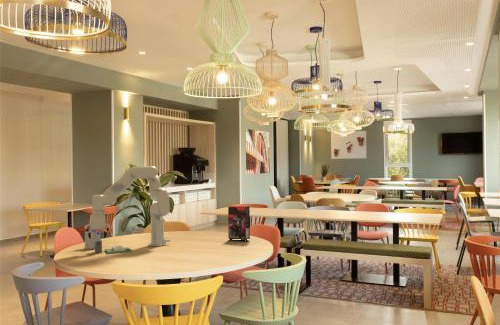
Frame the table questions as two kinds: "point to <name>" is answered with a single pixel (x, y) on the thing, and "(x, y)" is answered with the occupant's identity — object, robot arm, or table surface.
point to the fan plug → (98, 246)
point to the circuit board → (118, 249)
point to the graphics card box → (239, 222)
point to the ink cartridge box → (92, 239)
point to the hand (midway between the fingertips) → (97, 238)
